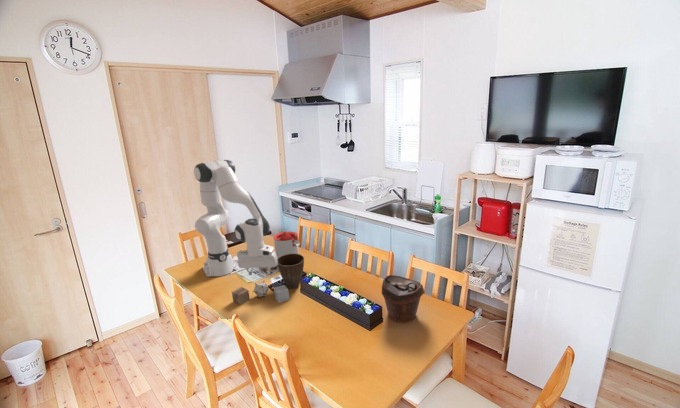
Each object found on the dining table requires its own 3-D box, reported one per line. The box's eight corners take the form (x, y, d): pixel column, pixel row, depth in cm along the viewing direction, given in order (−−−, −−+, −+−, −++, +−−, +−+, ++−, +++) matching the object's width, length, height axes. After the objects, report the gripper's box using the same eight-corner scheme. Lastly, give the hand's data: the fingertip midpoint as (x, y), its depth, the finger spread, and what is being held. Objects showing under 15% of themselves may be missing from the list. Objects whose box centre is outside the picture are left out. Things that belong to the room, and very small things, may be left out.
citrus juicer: (293, 267, 209) (290, 237, 203) (271, 262, 216) (267, 234, 211) (306, 256, 222) (304, 228, 217) (284, 253, 230) (282, 226, 224)
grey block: (274, 297, 176) (273, 287, 175) (285, 294, 179) (284, 284, 177) (278, 303, 171) (277, 292, 170) (289, 299, 174) (288, 289, 172)
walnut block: (233, 302, 174) (231, 291, 173) (242, 296, 179) (241, 286, 177) (240, 305, 171) (238, 295, 169) (249, 300, 175) (248, 290, 174)
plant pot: (311, 282, 189) (309, 257, 185) (293, 295, 178) (290, 268, 173) (292, 276, 198) (290, 251, 193) (274, 287, 186) (271, 261, 182)
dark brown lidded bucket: (430, 322, 150) (431, 287, 145) (388, 329, 147) (387, 293, 142) (415, 301, 167) (415, 269, 162) (377, 307, 164) (376, 274, 159)
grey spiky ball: (259, 303, 179) (246, 290, 176) (268, 290, 184) (255, 278, 182) (267, 300, 172) (253, 288, 170) (276, 288, 178) (263, 275, 176)
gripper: (234, 253, 168) (238, 277, 172) (274, 252, 167) (277, 276, 171) (238, 248, 174) (241, 271, 178) (276, 246, 173) (279, 270, 177)
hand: (259, 274), depth 175 cm, fingers open, 8 cm apart
